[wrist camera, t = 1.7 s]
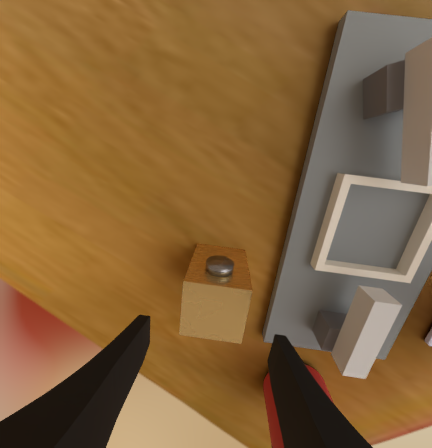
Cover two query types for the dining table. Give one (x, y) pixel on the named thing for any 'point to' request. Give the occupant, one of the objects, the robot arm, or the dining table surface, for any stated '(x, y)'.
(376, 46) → the shaft board
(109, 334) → the dining table surface
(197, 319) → the block
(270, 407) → the beer can
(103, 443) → the robot arm
